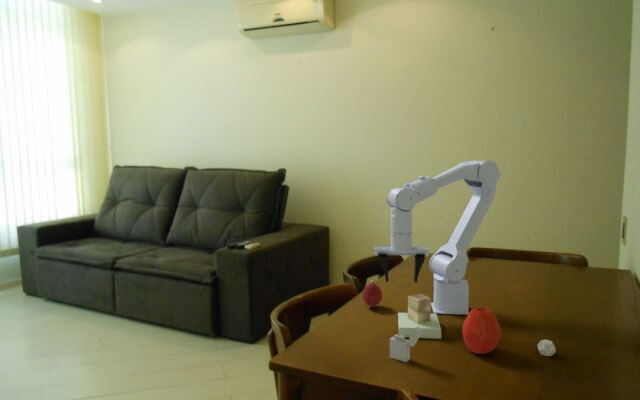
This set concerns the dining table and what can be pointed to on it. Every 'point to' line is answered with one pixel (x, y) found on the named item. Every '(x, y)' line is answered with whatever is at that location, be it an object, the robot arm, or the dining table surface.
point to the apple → (481, 330)
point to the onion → (372, 294)
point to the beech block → (419, 308)
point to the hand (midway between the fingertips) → (401, 281)
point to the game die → (546, 347)
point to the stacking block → (429, 328)
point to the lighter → (403, 345)
